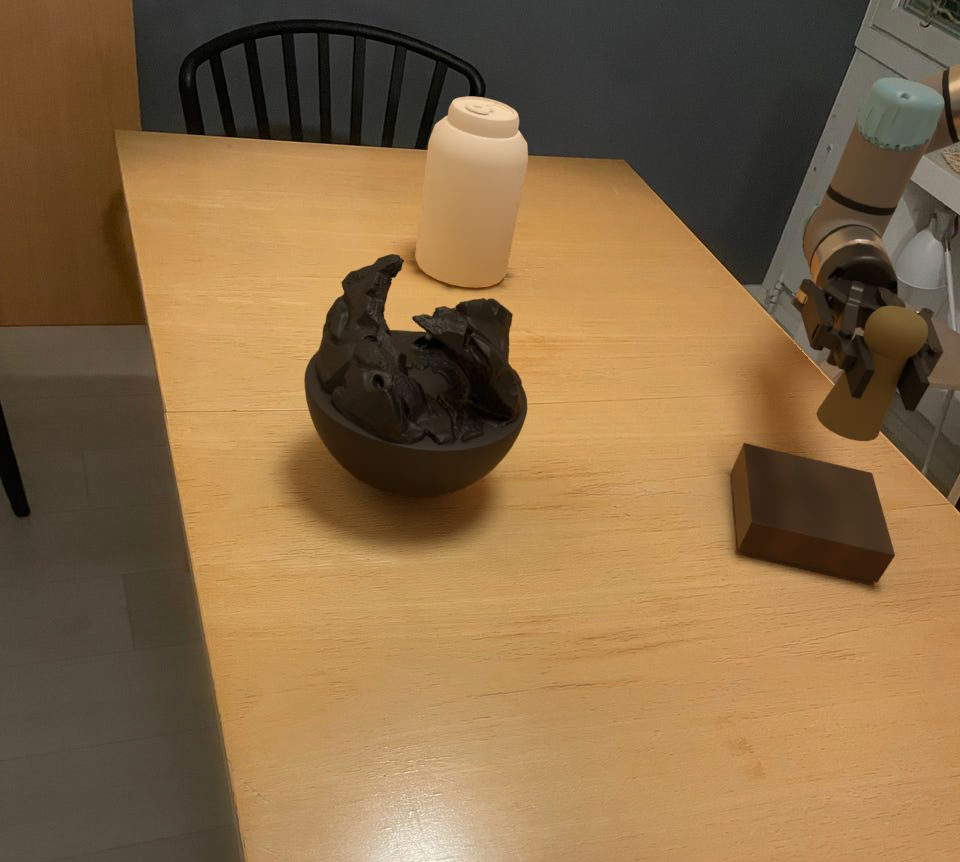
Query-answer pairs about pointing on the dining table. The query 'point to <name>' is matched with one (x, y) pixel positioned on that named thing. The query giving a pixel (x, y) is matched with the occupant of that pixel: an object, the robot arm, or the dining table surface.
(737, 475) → the walnut stand
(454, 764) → the dining table surface
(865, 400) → the wooden peg doll
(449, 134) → the can
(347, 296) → the bowl of black rocks
